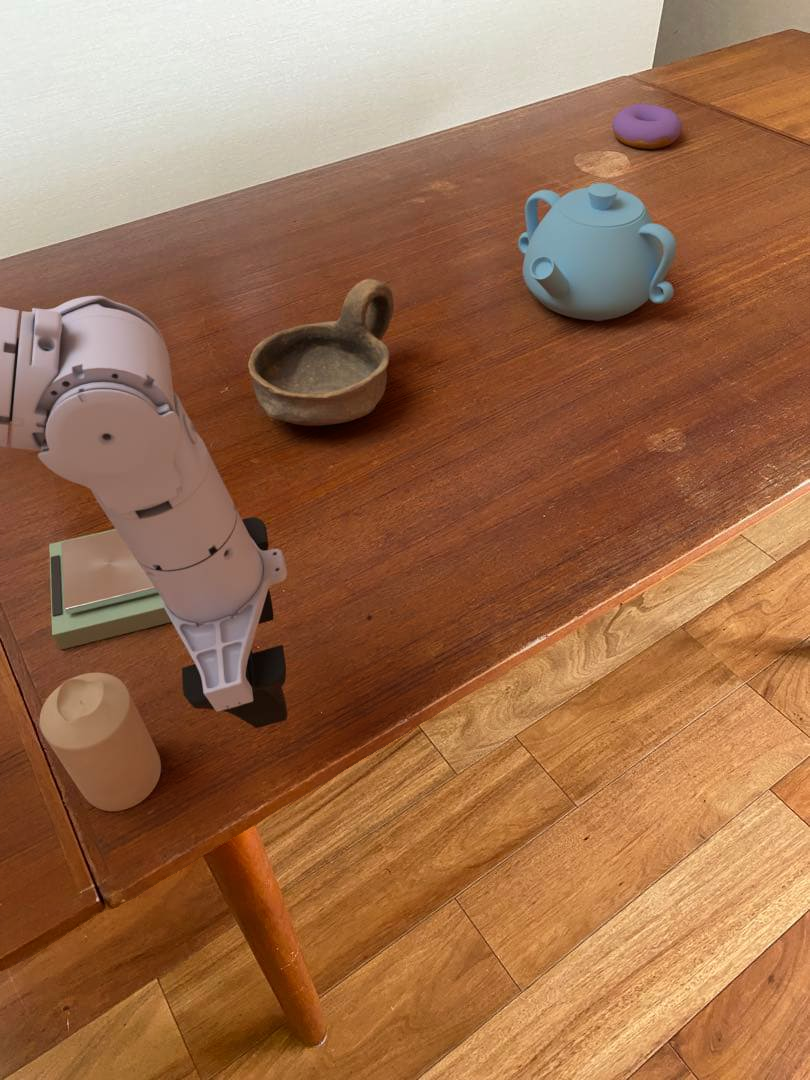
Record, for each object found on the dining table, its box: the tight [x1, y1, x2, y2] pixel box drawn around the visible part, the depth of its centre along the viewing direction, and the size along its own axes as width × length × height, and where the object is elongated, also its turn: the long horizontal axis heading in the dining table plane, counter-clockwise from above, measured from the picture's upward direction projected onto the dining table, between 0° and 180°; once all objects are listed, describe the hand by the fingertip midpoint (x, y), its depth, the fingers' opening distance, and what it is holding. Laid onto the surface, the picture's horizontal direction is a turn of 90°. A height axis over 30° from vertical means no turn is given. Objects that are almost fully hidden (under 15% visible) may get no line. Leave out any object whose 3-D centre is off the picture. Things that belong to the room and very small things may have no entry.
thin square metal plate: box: [61, 530, 158, 615], centre depth 70 cm, size 7×7×1 cm
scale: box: [48, 528, 172, 651], centre depth 71 cm, size 10×10×2 cm
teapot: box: [517, 182, 677, 322], centre depth 94 cm, size 20×20×13 cm
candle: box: [39, 672, 162, 812], centre depth 56 cm, size 6×6×10 cm
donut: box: [611, 103, 682, 150], centre depth 126 cm, size 10×9×5 cm
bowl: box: [247, 278, 395, 427], centre depth 84 cm, size 14×18×10 cm
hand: (264, 667), depth 55 cm, fingers open, 7 cm apart
